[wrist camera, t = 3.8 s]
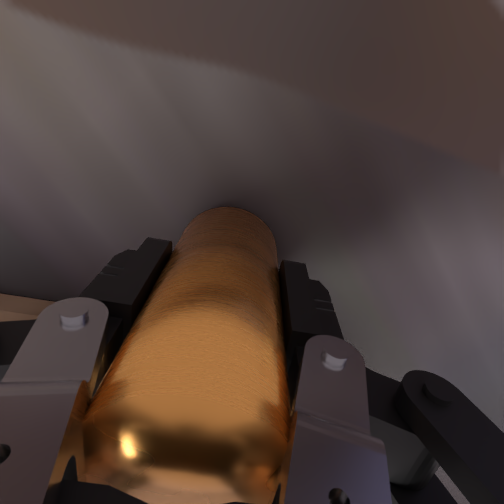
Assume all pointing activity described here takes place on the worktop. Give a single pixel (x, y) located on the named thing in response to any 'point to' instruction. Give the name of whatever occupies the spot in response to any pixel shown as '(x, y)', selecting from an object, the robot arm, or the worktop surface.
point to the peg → (199, 375)
